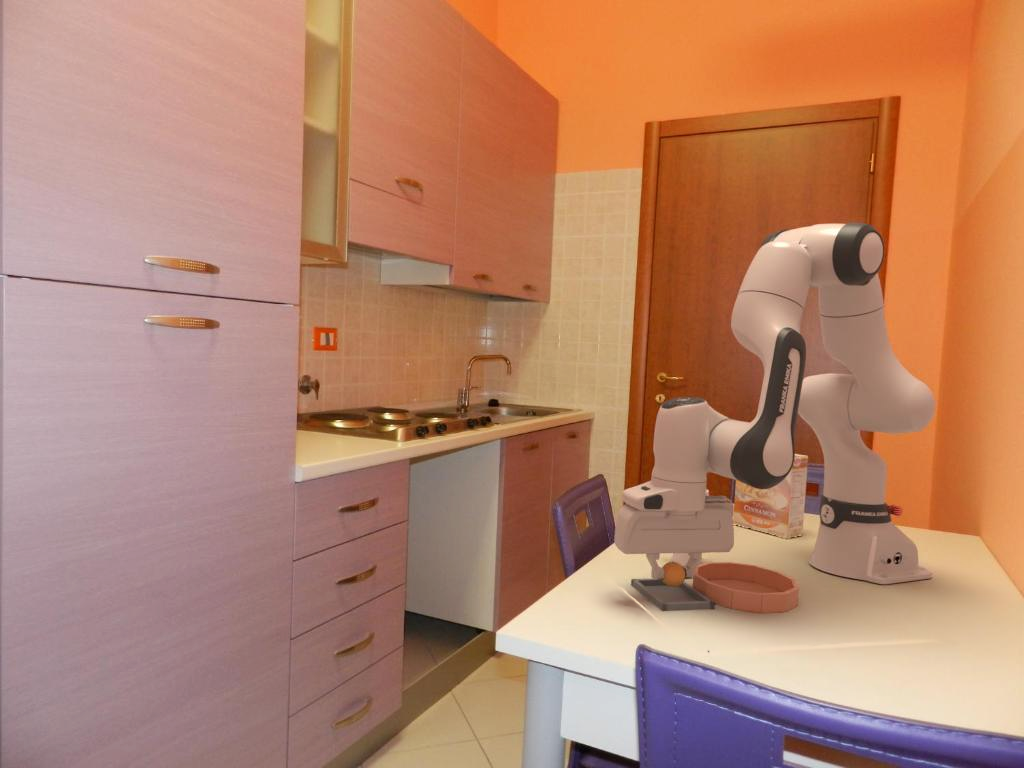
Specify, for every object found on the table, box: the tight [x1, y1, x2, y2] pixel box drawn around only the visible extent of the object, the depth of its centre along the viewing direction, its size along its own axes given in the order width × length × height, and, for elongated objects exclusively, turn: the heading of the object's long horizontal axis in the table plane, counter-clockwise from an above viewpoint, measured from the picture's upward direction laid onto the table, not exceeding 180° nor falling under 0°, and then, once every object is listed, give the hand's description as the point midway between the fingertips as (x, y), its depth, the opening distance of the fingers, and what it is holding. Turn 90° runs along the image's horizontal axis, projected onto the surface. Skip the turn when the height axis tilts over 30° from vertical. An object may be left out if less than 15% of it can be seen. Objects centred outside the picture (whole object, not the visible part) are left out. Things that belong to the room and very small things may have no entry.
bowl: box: [692, 561, 800, 614], centre depth 115 cm, size 17×17×4 cm
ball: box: [661, 561, 686, 587], centre depth 112 cm, size 4×4×4 cm
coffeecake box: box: [732, 453, 809, 539], centre depth 165 cm, size 15×7×20 cm, turn 36°
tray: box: [630, 578, 716, 612], centre depth 112 cm, size 9×12×2 cm
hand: (672, 578), depth 112 cm, fingers closed on ball, 4 cm apart
